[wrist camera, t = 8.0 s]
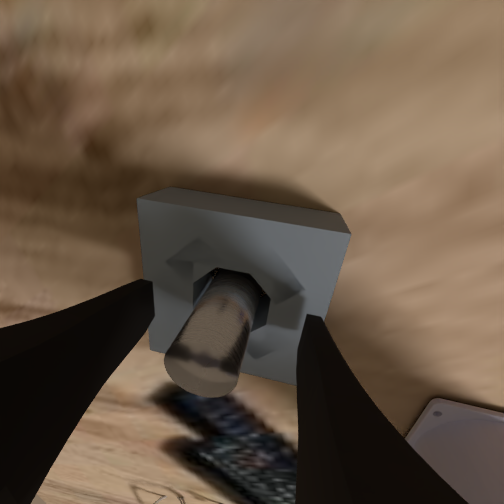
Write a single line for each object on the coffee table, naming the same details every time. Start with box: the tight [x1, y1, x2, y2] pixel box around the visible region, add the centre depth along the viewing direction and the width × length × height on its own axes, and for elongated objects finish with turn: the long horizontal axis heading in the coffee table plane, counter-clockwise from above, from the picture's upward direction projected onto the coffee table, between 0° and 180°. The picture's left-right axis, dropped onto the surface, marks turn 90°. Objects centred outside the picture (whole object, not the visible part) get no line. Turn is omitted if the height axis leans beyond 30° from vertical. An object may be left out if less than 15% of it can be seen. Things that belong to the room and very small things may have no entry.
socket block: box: [137, 187, 351, 386], centre depth 13 cm, size 9×9×3 cm
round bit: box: [164, 268, 262, 397], centre depth 11 cm, size 3×3×7 cm
